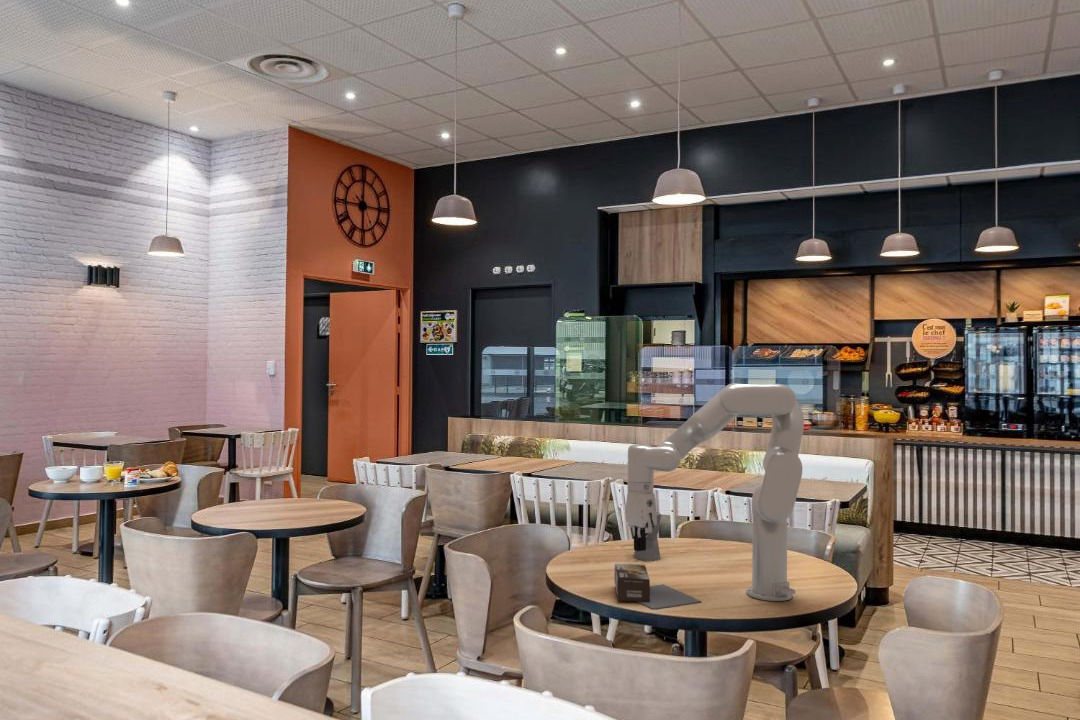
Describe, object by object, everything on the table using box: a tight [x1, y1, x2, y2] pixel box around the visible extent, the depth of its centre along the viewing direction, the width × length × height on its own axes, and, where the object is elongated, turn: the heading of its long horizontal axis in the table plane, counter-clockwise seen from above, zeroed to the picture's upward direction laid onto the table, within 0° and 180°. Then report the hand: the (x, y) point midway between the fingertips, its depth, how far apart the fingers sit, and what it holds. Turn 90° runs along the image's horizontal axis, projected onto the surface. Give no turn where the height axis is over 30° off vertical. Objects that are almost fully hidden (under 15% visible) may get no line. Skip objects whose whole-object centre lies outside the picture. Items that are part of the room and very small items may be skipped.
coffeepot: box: [633, 511, 662, 562], centre depth 262 cm, size 15×9×18 cm, turn 156°
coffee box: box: [613, 563, 651, 602], centre depth 219 cm, size 9×6×16 cm
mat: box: [635, 583, 703, 610], centre depth 217 cm, size 18×16×1 cm
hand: (639, 550), depth 226 cm, fingers closed
